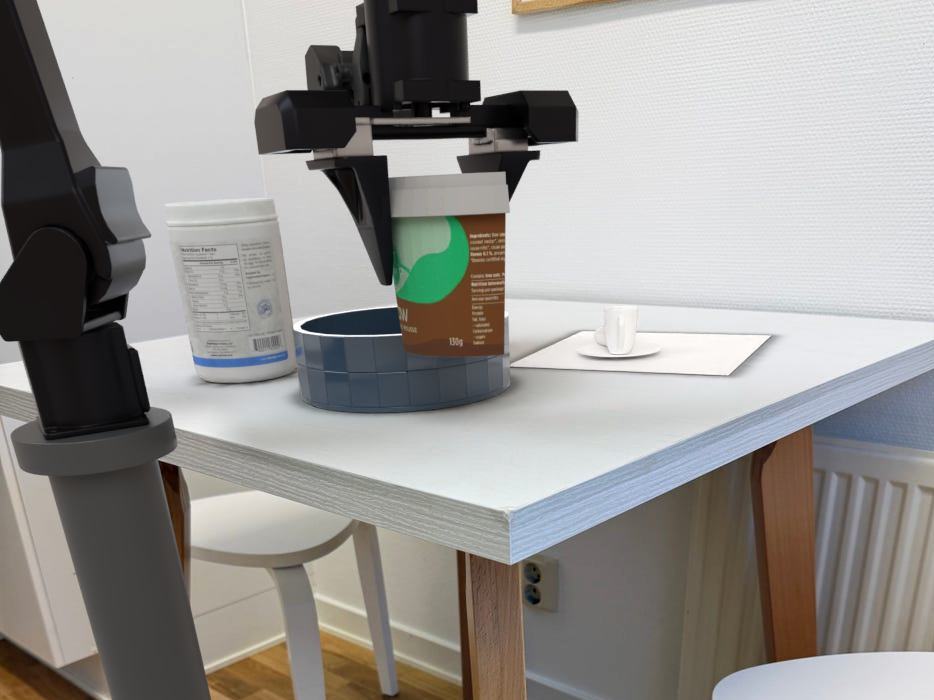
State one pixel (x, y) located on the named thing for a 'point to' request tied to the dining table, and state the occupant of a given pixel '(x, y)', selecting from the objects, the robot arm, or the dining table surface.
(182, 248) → the supplement tub
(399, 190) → the food container
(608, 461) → the dining table surface
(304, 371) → the pot
